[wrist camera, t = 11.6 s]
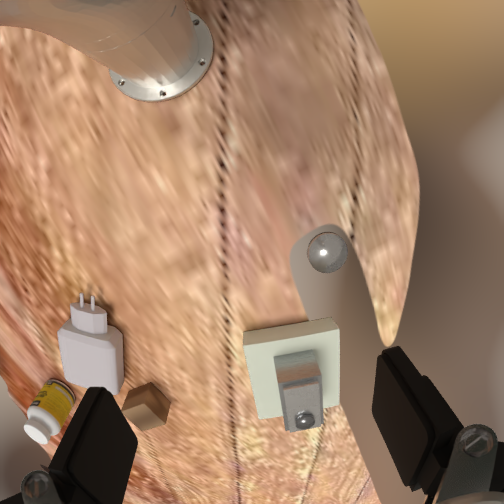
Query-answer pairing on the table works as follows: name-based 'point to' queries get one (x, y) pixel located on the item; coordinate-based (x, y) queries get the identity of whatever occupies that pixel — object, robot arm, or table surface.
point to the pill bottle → (49, 411)
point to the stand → (285, 342)
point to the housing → (300, 390)
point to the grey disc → (327, 252)
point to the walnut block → (146, 407)
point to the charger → (91, 348)
